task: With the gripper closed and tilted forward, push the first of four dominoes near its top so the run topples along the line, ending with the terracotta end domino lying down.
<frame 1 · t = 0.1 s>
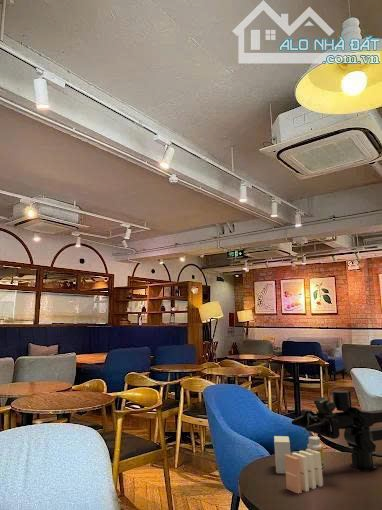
hand: (298, 425, 135), 17 cm above the table, tool horizontal, fingers open, 9 cm apart
small box: (283, 470, 138), on the table
domino 2: (308, 486, 124), on the table
domino 4: (294, 490, 120), on the table
supplement bottle: (316, 466, 141), on the table
domino 1: (315, 483, 125), on the table
domino 3: (301, 488, 122), on the table
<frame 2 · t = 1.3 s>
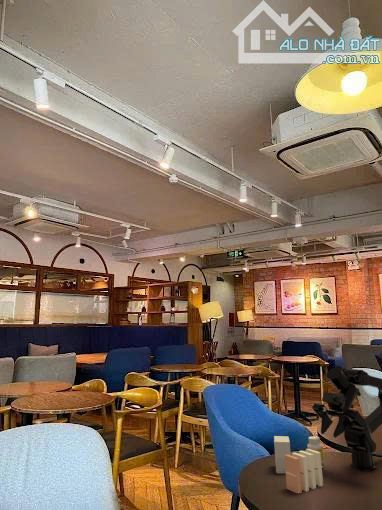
hand: (327, 435, 132), 14 cm above the table, tool tilted 45°, fingers open, 5 cm apart
nothing on the table moved.
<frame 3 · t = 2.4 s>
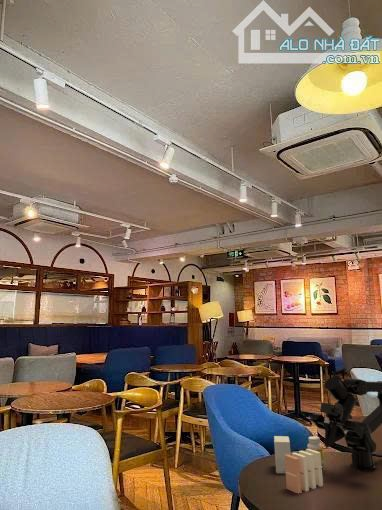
hand: (326, 446, 131), 10 cm above the table, tool tilted 45°, fingers closed
nothing on the table moved.
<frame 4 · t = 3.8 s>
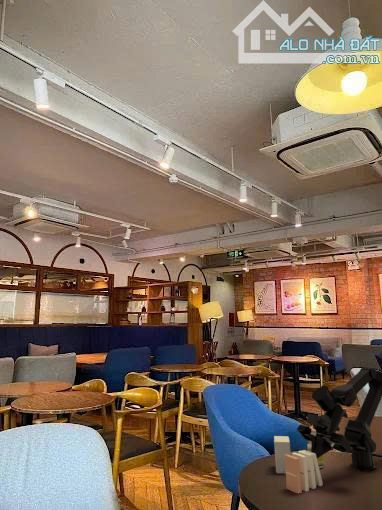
hand: (312, 459, 126), 7 cm above the table, tool tilted 45°, fingers closed
domino 1: (315, 483, 126), on the table, tilted 13°
everything else where it was.
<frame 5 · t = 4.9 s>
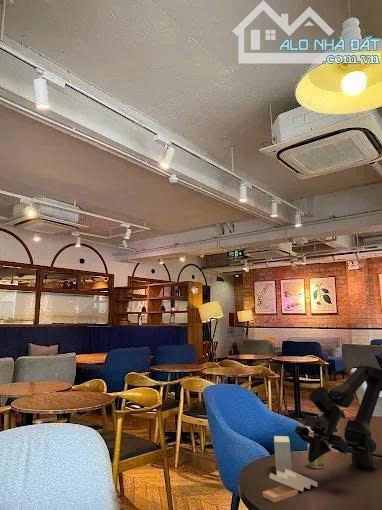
hand: (309, 461, 126), 7 cm above the table, tool tilted 45°, fingers closed
domino 2: (304, 484, 123), point 1 cm above the table, tilted 63°, touching domino 1, domino 3
domino 4: (291, 489, 120), point 1 cm above the table, tilted 89°, touching domino 3
domino 1: (311, 482, 125), point 1 cm above the table, tilted 63°, touching domino 2
domino 3: (297, 486, 122), point 1 cm above the table, tilted 64°, touching domino 2, domino 4
everything else where it was.
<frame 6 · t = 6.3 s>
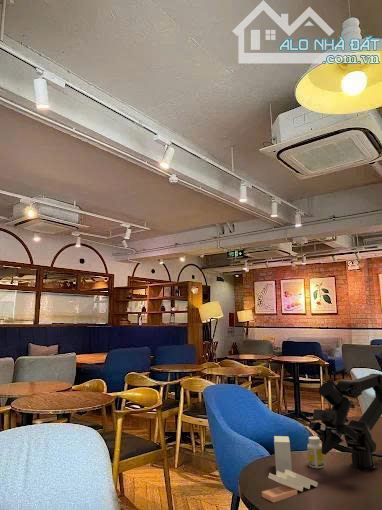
hand: (323, 453, 130), 8 cm above the table, tool tilted 40°, fingers closed
domino 2: (304, 484, 123), point 1 cm above the table, tilted 64°, touching domino 1, domino 3
domino 3: (297, 486, 122), point 1 cm above the table, tilted 64°, touching domino 2, domino 4
everything else where it was.
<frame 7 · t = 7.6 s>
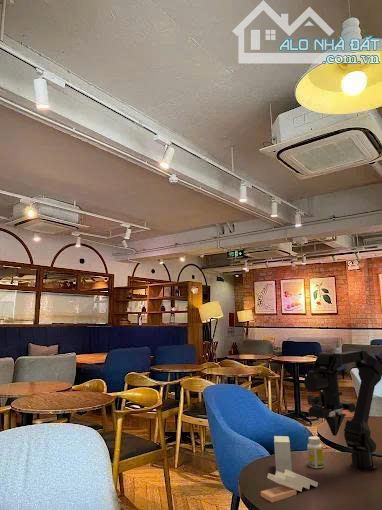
hand: (334, 435, 134), 13 cm above the table, tool pointing down, fingers closed
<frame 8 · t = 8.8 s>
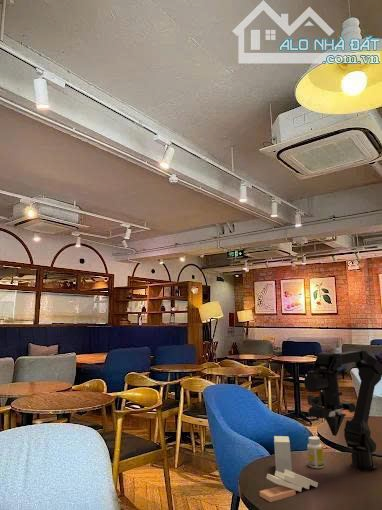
hand: (334, 435, 134), 13 cm above the table, tool pointing down, fingers closed
domino 2: (304, 484, 123), point 1 cm above the table, tilted 65°, touching domino 1, domino 3
at the end: domino 4 tilted 90°; domino 1 tilted 65° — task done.
